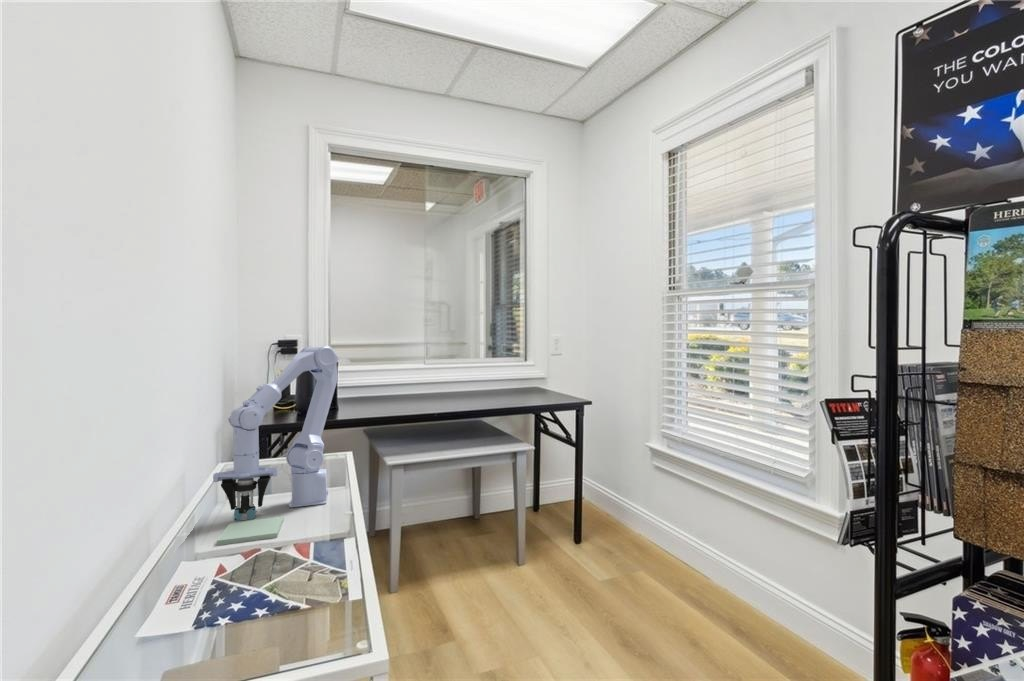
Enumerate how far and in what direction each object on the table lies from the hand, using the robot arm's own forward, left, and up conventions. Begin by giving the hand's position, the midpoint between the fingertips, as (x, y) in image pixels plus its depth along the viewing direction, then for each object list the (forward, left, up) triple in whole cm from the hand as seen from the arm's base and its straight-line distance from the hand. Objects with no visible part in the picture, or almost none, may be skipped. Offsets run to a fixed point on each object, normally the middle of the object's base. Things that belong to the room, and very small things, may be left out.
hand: (246, 507), depth 125 cm
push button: (0, 0, -3) cm, 3 cm away
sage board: (-3, +11, -3) cm, 12 cm away
